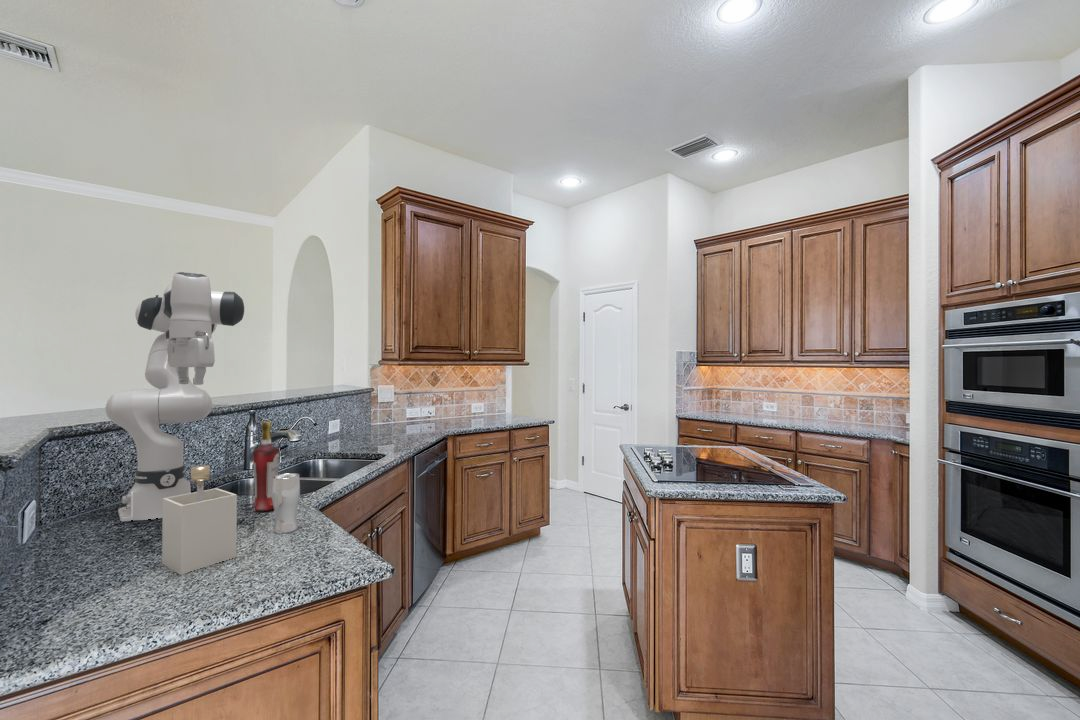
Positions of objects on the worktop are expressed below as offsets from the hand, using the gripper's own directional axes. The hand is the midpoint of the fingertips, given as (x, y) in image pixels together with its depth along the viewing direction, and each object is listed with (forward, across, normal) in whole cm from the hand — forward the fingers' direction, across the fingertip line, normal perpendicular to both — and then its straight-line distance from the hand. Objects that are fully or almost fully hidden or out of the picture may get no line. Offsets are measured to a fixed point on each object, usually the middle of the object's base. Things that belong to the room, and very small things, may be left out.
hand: (190, 384), depth 122 cm
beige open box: (+41, -18, +4) cm, 45 cm away
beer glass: (+41, -14, -18) cm, 47 cm away
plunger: (+38, -18, +4) cm, 43 cm away
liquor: (+41, +10, -24) cm, 49 cm away
